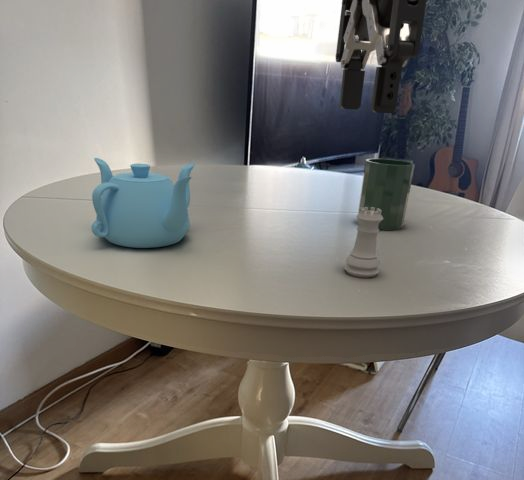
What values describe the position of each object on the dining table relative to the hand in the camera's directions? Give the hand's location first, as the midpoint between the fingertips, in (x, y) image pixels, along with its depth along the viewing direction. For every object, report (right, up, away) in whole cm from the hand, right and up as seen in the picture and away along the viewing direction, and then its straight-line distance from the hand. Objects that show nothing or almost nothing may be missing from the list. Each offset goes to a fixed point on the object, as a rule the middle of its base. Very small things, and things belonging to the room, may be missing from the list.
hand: (364, 110), depth 49 cm
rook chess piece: (+2, -15, +12) cm, 19 cm away
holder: (+10, -2, +36) cm, 38 cm away
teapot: (-27, -8, +22) cm, 36 cm away
